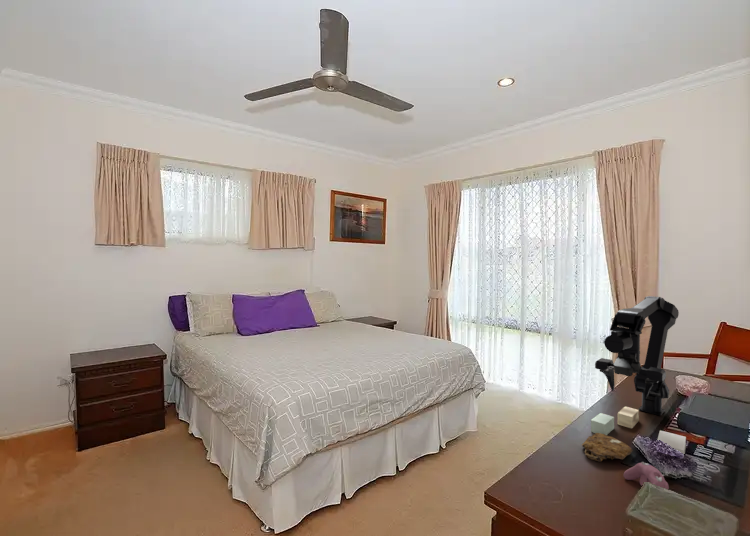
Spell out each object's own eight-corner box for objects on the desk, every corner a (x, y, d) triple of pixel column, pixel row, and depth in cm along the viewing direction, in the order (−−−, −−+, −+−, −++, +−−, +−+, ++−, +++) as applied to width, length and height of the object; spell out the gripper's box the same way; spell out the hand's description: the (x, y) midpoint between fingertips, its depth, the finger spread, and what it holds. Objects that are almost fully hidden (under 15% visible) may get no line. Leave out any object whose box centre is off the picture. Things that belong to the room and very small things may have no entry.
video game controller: (660, 512, 81) (677, 486, 80) (640, 500, 82) (656, 475, 81) (638, 484, 91) (652, 461, 90) (620, 474, 92) (634, 452, 91)
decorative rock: (621, 475, 93) (635, 455, 103) (622, 460, 93) (636, 441, 103) (573, 455, 101) (591, 438, 112) (574, 441, 101) (592, 425, 111)
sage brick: (600, 424, 120) (600, 412, 120) (614, 429, 117) (614, 416, 117) (590, 432, 115) (591, 419, 115) (605, 437, 112) (605, 424, 112)
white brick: (659, 439, 110) (660, 430, 110) (685, 446, 106) (685, 436, 106) (656, 453, 103) (656, 442, 103) (683, 461, 99) (684, 450, 99)
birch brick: (624, 417, 125) (624, 406, 125) (638, 421, 122) (638, 410, 122) (617, 424, 120) (617, 413, 120) (631, 429, 117) (631, 417, 117)
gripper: (589, 347, 122) (589, 392, 122) (658, 358, 108) (657, 410, 108) (600, 341, 129) (600, 384, 130) (666, 351, 115) (665, 400, 116)
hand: (628, 394), depth 121 cm, fingers open, 9 cm apart
